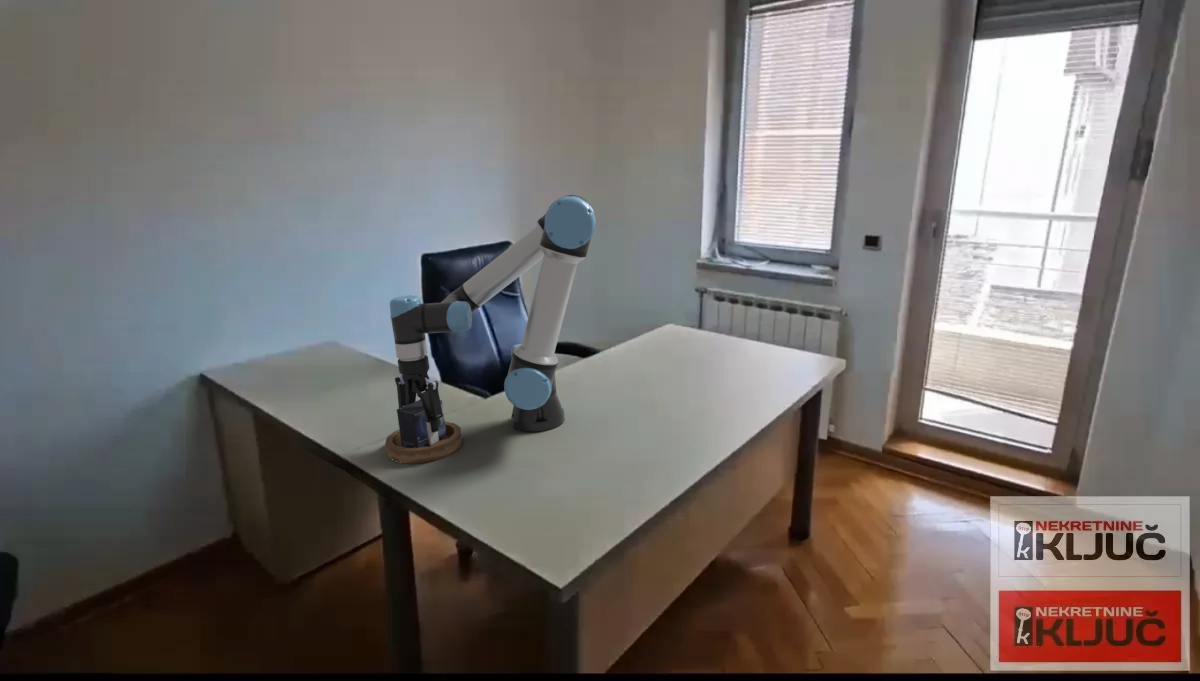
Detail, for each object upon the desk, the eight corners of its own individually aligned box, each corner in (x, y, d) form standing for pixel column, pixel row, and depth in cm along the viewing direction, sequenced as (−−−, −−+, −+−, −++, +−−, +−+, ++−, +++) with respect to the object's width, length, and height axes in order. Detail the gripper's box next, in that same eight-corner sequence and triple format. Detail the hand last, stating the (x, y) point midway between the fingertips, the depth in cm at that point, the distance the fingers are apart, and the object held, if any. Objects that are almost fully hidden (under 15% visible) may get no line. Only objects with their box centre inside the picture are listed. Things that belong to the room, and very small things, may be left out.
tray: (476, 440, 166) (475, 427, 165) (423, 469, 151) (421, 456, 150) (427, 428, 176) (425, 417, 175) (372, 455, 161) (370, 442, 160)
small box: (418, 451, 157) (412, 412, 154) (400, 447, 160) (394, 409, 158) (448, 436, 166) (443, 399, 163) (431, 432, 169) (425, 396, 166)
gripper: (450, 356, 155) (461, 441, 161) (398, 349, 165) (410, 429, 171) (428, 365, 149) (440, 452, 155) (375, 357, 159) (388, 439, 165)
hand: (424, 440), depth 163 cm, fingers closed on small box, 6 cm apart
